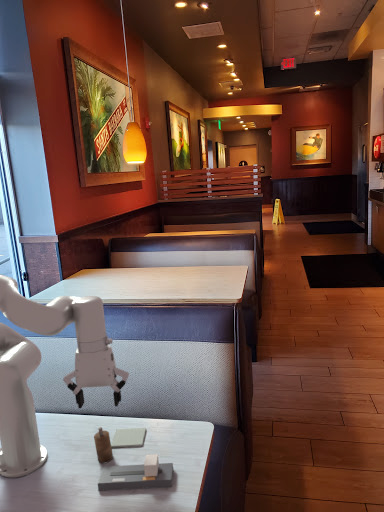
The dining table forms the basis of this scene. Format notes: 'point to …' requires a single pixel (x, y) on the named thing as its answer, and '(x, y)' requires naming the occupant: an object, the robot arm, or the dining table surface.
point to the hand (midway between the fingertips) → (99, 404)
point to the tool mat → (128, 437)
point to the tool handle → (103, 446)
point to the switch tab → (151, 465)
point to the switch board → (134, 477)
